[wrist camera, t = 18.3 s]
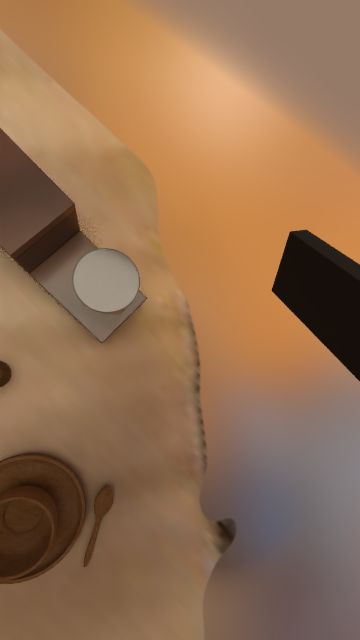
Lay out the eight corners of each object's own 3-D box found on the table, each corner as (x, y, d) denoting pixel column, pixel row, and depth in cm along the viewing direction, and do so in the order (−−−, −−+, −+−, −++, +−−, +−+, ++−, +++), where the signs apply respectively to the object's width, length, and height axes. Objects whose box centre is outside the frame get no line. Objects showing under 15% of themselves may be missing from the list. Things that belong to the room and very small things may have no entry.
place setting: (-95, 562, 27) (-147, 619, 22) (-19, 356, 30) (-47, 359, 25) (90, 577, 31) (87, 628, 26) (141, 394, 34) (148, 403, 29)
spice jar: (72, 300, 29) (57, 278, 20) (105, 269, 30) (107, 235, 21) (105, 332, 30) (107, 326, 20) (137, 301, 31) (152, 281, 21)
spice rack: (-26, 222, 31) (-92, 159, 21) (24, 185, 33) (-13, 109, 22) (101, 343, 34) (101, 342, 23) (142, 303, 35) (159, 285, 25)
